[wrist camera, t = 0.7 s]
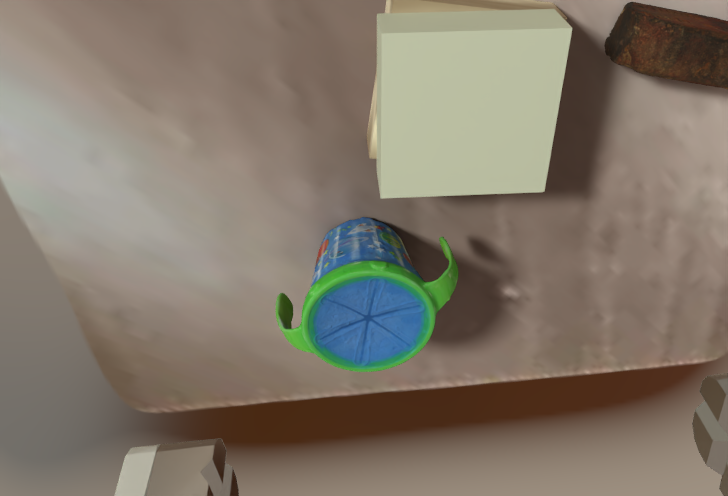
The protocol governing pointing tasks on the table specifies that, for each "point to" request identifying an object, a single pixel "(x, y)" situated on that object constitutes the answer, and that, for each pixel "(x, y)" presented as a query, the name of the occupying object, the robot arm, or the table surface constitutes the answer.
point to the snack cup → (367, 300)
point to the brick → (671, 44)
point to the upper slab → (468, 100)
